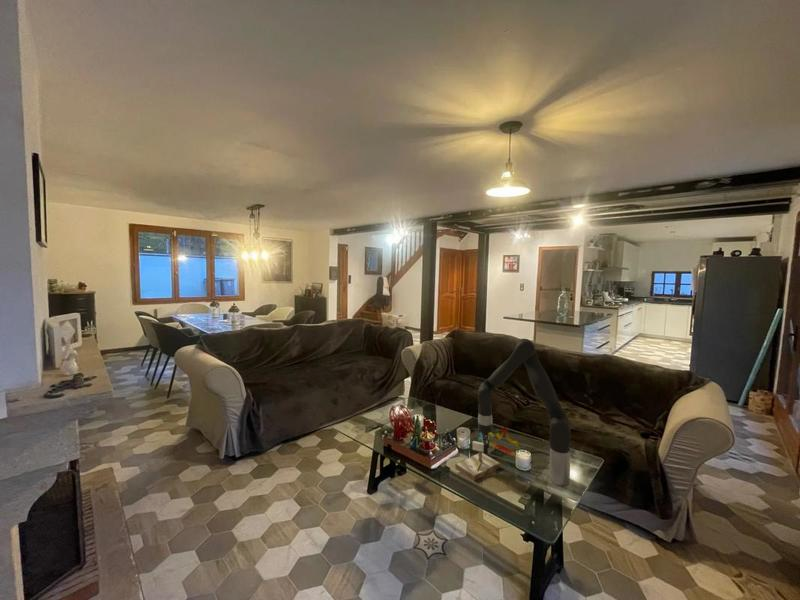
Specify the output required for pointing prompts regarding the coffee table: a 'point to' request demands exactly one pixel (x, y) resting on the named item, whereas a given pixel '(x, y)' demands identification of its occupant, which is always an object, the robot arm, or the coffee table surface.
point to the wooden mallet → (480, 448)
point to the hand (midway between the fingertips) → (485, 451)
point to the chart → (499, 447)
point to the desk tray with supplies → (471, 465)
